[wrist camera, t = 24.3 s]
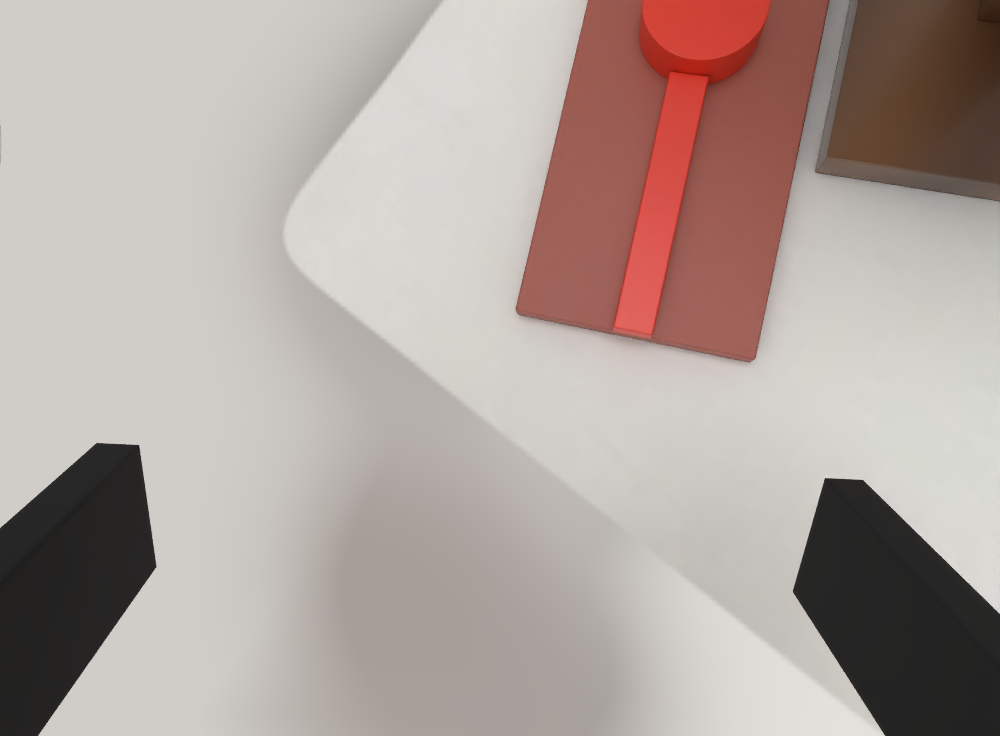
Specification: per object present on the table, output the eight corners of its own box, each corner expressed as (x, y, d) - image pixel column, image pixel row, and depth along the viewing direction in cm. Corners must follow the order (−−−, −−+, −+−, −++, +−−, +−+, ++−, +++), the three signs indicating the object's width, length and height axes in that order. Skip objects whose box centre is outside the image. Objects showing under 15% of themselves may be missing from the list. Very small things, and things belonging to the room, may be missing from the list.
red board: (517, 314, 30) (515, 310, 29) (615, -102, 31) (615, -120, 30) (750, 362, 28) (755, 359, 27) (841, -81, 29) (850, -99, 28)
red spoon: (572, 323, 28) (570, 314, 26) (652, -30, 29) (656, -64, 27) (692, 347, 27) (699, 340, 25) (770, -17, 28) (782, -51, 26)
